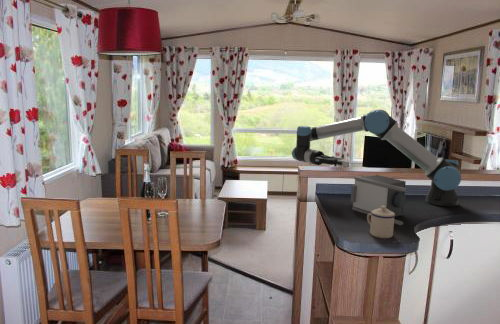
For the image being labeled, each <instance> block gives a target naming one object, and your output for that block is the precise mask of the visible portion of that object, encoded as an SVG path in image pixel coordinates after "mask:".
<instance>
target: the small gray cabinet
mask: <svg viewBox="0 0 500 324" xmlns="http://www.w3.org/2000/svg"><path fill="white" fill-rule="evenodd" d="M366 176H367V177H362V176H354V181H355V180H359V181H363V182H367V183H371V184H375V185H379V186H383V187H387V188H388V194H387V206H386V209H388V210H390V211H392V212H394V213H395V217H401V216H404V214H403V212H404V206H405V204H406V200H407V197H406V194H405V192H407V188H406V181H405V180H402V179H401V180H400V179H396V178H393V177H388V176H383V175H379V174H376V175H375V174H374V175H366ZM351 208H352V210H353V211H356V212H358V213H362V214H365V215H368V214H369V213H371V212H369V211H366V210H363V209H360V208H357V207H354V206H352V207H351ZM395 217H394V225H398V226H402V225H404V221H401V220H398V219H395Z"/></svg>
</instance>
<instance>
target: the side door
mask: <svg viewBox="0 0 500 324" xmlns="http://www.w3.org/2000/svg"><path fill="white" fill-rule="evenodd" d="M387 194H388V188H387V187H383V186H379V185H375V184H371V183H367V182H363V181H359V180H355V179H354V184H353V185H351V190H350V203H352V207H357V208H360V209H363V210H366V211H369V212H371V211H372V210H375V209H378V208H381V206H387Z"/></svg>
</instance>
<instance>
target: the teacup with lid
mask: <svg viewBox="0 0 500 324" xmlns="http://www.w3.org/2000/svg"><path fill="white" fill-rule="evenodd" d="M394 219H395V213H394V212H392V211H390V210H388V209H386V206H381V208H378V209H375V210H372V211H371V213H369V214H366V220H367V223H368V225H370V228H369V234H370V235H371V236H373V237H376V238H380V239H390V238H393V236H394V226H395V223H394Z"/></svg>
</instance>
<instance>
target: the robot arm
mask: <svg viewBox="0 0 500 324" xmlns="http://www.w3.org/2000/svg"><path fill="white" fill-rule="evenodd" d="M296 130H297V131H296V146H295V147H294V148H293V149H292V151H291V156H292V158H293V160H295V161H298V162H303V163H308V164H309V165H316V166H321V165H329V166H330V165H331V166H334V167H337V166H339V167H345V168H349V167H350V161H349V160H348V161H347V160H345V159H342V158H341V157H337V156H335V155H334V156H333V155H332V156H330V155H327V154H325V153H324V152H323V151H322V150H321V151H320V150H316V149H313V148H311V142H312V141H318V140H321V139H327V138H332V137H337V136H343V135H348V134H353V133H357V132H365V133H367V132H369V133H371V134H372V135H375V136H376V137H377V138H379V140H381V141H384V140H385V141H387V142H388V143H390V144H391V145H392V146H393V147H395V148H396V149H397V150H399V151H400V152H401V153H402V154H403V155H405V156H406V157H407V158H408V159H409V160H410V161H412V162H413V163H414V164H416V165H417V166H418V167H419V168H421V169H422V170H423V171H424V175H425V176H426V177H427V178H428V179H430V181H431V183H430V188H429V190H428V192H427V194H426V197H425V202H426V203H428V204H431V205H435V206H439V207H457V206H458V205H459V199H458V195H457V188H458V186H459V185H460V184H461V180H462V174H461V172H460V170H459V165H460V164H459V161H458V160H457V159H456V160H455V159H445V158H444V157H437V156H436V155H435V154H434V153H432V152H431V151H430V150H429V149H427V148H426V147H424V146H423V145H422V144H421V143H420V142H418V141H417V140H416V139H415V138H413V137H412V136H410V135H409V134H408V133H407V132H405V131H404V130H403V129H402V128H401V127H399V125H398V121H397V120H396V119H394V118H393V117H392V116H390V114H389V113H388V112H387V111H386V110H383V109H374V110H371V111H369V112H368V113H365V114H362V115H361V116H358V117H354V118H349V119H345V120H340V121H335V122H332V123H327V124H322V125H317V126H313V127H311V126H309V125H298V126H297V129H296Z"/></svg>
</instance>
